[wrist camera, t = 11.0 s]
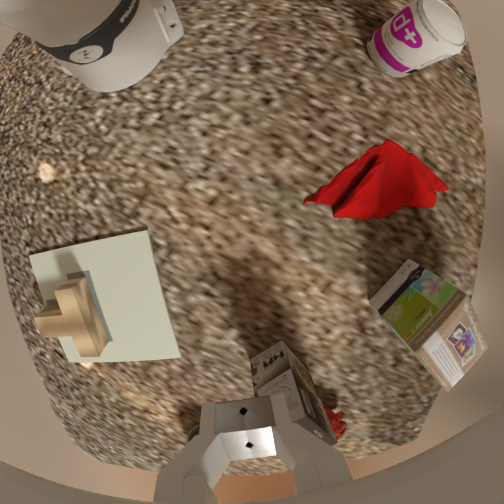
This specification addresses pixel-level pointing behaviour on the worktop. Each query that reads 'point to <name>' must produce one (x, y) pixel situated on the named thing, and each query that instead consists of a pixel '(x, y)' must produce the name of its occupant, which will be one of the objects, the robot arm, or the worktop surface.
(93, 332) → the maple T block
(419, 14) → the supplement can
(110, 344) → the sage board
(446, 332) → the tea box
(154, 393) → the worktop surface
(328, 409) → the dragon fruit
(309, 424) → the coffee box
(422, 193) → the cloth
